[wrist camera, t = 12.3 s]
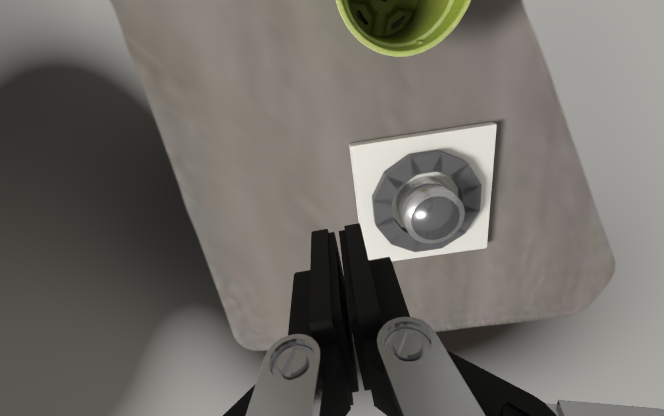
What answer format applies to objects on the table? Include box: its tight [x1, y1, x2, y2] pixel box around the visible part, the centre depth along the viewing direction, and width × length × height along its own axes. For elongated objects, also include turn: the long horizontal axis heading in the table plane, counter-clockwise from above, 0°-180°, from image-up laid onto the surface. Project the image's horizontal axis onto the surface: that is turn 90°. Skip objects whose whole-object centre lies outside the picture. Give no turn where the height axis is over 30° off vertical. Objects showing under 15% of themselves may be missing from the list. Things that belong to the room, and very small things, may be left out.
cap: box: [397, 176, 465, 244], centre depth 34 cm, size 6×6×4 cm
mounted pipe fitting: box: [349, 122, 497, 261], centre depth 36 cm, size 15×15×2 cm
